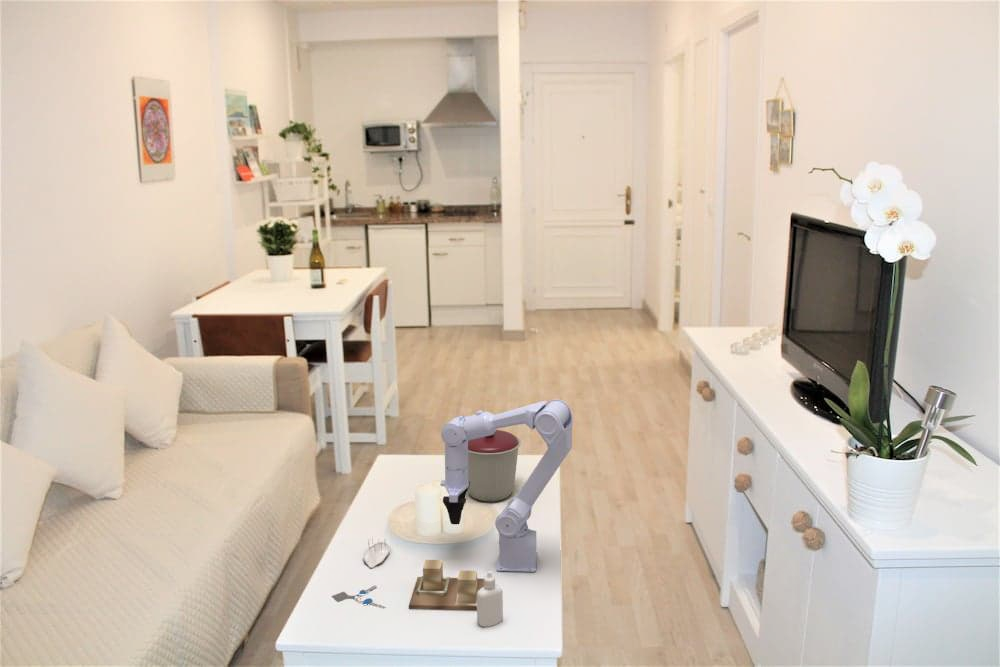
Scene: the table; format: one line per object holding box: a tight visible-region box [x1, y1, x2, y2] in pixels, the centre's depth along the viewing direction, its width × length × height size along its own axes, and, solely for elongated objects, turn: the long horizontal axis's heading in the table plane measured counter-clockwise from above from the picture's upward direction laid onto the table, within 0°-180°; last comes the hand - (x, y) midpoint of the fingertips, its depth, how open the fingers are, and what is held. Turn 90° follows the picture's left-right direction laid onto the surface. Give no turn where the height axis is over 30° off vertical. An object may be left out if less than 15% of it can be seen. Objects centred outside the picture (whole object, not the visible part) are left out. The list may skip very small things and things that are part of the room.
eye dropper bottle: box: [476, 570, 504, 628], centre depth 180 cm, size 4×6×12 cm
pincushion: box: [363, 538, 391, 569], centre depth 209 cm, size 12×6×6 cm, turn 174°
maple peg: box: [422, 559, 444, 591], centre depth 193 cm, size 4×4×6 cm
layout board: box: [408, 569, 484, 612], centre depth 191 cm, size 16×12×7 cm
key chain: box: [331, 585, 387, 609], centre depth 193 cm, size 14×8×1 cm, turn 75°
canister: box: [467, 429, 522, 503], centre depth 243 cm, size 18×18×21 cm
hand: (457, 516), depth 208 cm, fingers open, 7 cm apart
